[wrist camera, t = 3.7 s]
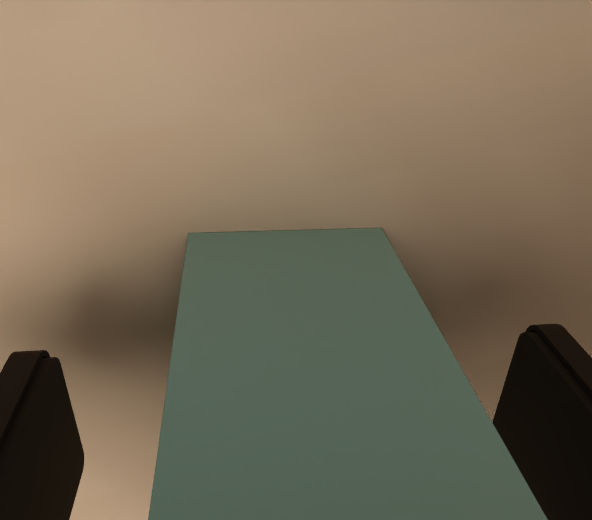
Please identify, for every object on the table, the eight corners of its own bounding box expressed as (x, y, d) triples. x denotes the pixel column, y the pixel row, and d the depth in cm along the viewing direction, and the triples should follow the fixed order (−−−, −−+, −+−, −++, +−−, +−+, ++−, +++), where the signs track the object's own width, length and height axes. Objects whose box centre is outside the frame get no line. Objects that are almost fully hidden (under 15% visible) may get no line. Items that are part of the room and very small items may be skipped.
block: (381, 227, 12) (642, 686, 5) (363, 371, 15) (518, 842, 7) (188, 233, 12) (114, 758, 4) (201, 381, 14) (169, 900, 6)
